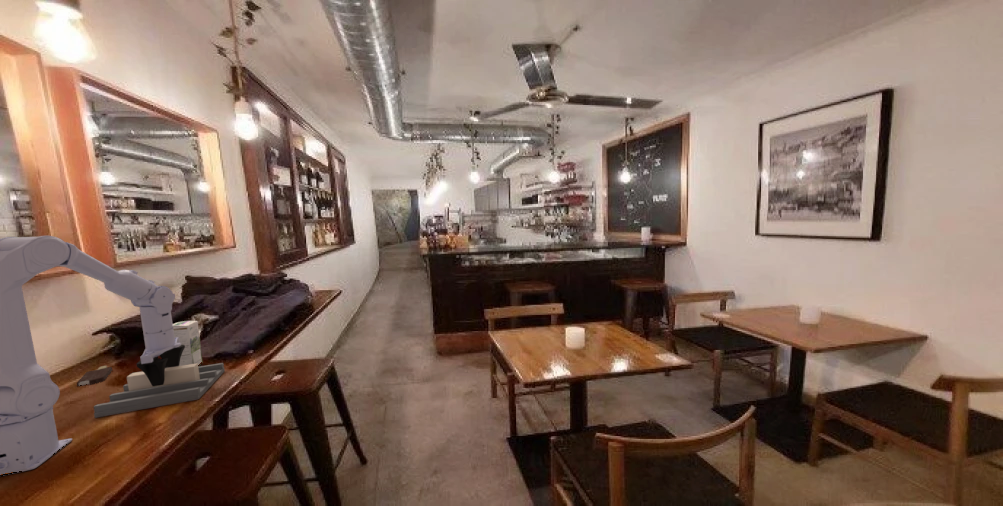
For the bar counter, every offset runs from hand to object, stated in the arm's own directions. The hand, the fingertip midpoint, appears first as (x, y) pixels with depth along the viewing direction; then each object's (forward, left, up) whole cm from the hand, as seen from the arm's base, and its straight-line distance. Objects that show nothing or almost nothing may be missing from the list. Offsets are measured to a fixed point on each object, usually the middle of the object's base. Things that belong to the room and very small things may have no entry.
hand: (165, 378), depth 95 cm
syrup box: (+17, +2, -4) cm, 18 cm away
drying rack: (0, 0, -4) cm, 4 cm away
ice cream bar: (+23, +26, -4) cm, 35 cm away
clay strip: (0, 0, -2) cm, 2 cm away
